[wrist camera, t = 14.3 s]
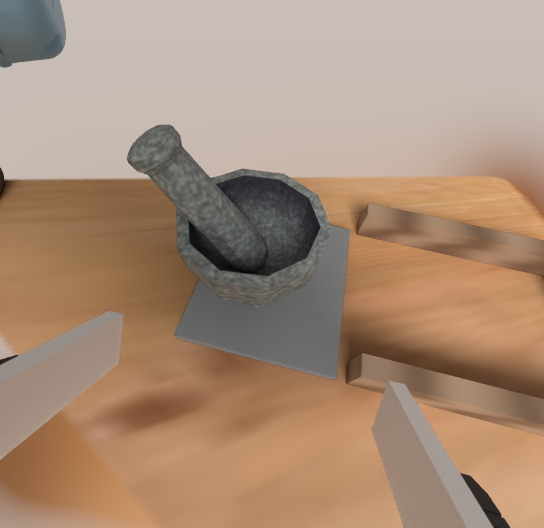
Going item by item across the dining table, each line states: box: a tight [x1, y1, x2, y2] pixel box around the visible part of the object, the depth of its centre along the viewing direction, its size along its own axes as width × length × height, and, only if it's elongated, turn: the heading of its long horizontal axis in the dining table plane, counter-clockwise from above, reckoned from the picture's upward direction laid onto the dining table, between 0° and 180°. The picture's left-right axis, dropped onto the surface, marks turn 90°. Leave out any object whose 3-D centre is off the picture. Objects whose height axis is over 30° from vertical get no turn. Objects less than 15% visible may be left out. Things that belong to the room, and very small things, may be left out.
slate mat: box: [174, 225, 350, 380], centre depth 22 cm, size 12×14×1 cm
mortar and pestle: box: [127, 125, 332, 308], centre depth 17 cm, size 11×9×12 cm
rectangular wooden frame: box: [346, 203, 544, 436], centre depth 21 cm, size 20×16×3 cm
